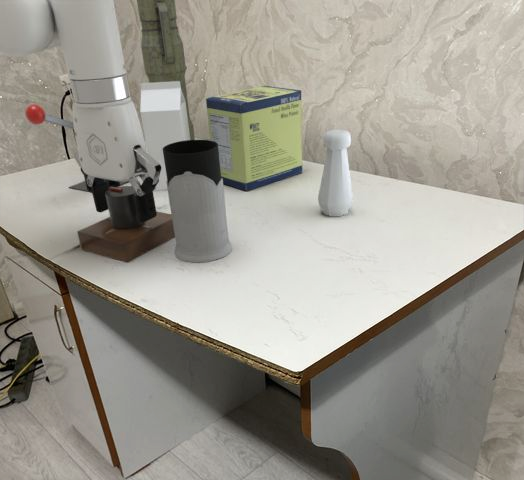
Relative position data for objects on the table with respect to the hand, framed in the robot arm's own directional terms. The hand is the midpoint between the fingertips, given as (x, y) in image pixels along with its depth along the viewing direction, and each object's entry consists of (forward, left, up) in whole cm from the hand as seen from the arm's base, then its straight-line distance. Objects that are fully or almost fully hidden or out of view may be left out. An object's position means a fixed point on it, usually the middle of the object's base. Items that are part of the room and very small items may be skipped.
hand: (126, 214), depth 82 cm
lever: (+11, +25, +8) cm, 28 cm away
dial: (0, 0, -1) cm, 1 cm away
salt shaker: (+25, -23, -5) cm, 34 cm away
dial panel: (0, 0, -4) cm, 4 cm away
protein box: (+36, 0, -5) cm, 36 cm away
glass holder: (+5, -11, -5) cm, 13 cm away
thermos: (+42, +27, -5) cm, 50 cm away
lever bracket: (+17, +25, -4) cm, 31 cm away
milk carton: (+23, +11, -5) cm, 26 cm away
